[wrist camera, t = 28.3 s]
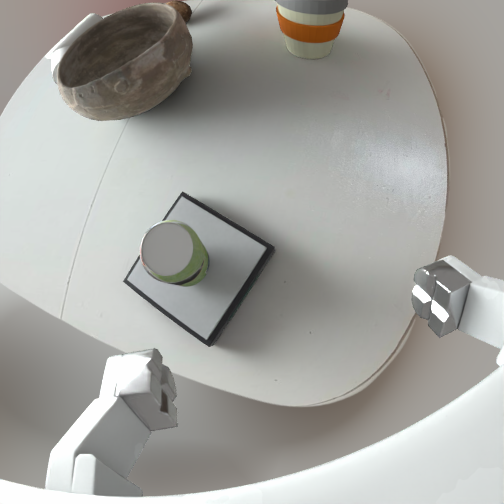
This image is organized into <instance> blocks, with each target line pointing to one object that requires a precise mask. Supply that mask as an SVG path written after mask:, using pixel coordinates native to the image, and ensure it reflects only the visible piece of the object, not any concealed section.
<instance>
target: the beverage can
mask: <svg viewBox="0 0 504 504" xmlns="http://www.w3.org/2000/svg"><path fill="white" fill-rule="evenodd" d="M140 259H141V263H142V265H143V267H144V269H145V270H146V272H147V273H148V274H149V275H150V276H151V277H153V278H154V279H156V280H158V281H160V282H164V283H168V284H173V285H178V286H184V287H188V286H193V285H195V284H197V283H199V282H200V281H201V280H202V279H203V278H204V277H205V276H206V274H207V272H208V270H209V265H210V260H209V255H208V252H207V250H206V248H205V247H204V245H203V243H202V242H201V240H200V239H199V237H198V235H197V234H196V232H195V231H194V230H193V229H192V228H191V227H190V226H189V225H187V224H186V223H183V222H181V221H177V220H165V221H161V222H159V223H157V224H155V225H154V226H152V227H151V228H150V229H149V230H148V231H147V232H146V234H145V235H144V237H143V239H142V242H141V245H140Z"/></svg>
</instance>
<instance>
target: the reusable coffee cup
mask: <svg viewBox="0 0 504 504" xmlns="http://www.w3.org/2000/svg"><path fill="white" fill-rule="evenodd" d="M275 1H276V2H277V7H276V12H277V16H278V21H279V25H280V29H281V31H282V32H283V33H284V38H285V43H286V47H287V49H288V50H289V52H291V53H292V54H294V55H295V56H298V57H301V58H305V59H320V58H323V57H325V56H327V55H328V54H329V53H330V52H331V49H332V46H333V43H334V40H335V38H336V37H337V36H338V34H339V32H340V29H341V26H342V23H343V20H344V9H345V8H346V7H347V5H348V0H275Z"/></svg>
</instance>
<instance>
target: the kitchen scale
mask: <svg viewBox="0 0 504 504" xmlns="http://www.w3.org/2000/svg"><path fill="white" fill-rule="evenodd" d="M165 220H177V221H181V222H183V223H186V224H187V225H189V226H190V227H191V228H192V229H193V230H194V231H195V232H196V234H197V235H198V237H199V239H200V240H201V242H202V243H203V245H204V247H205V248H206V250H207V252H208V255H209V260H210V265H209V270H208V272H207V274H206V276H205V277H204V278H203V279H202V280H201V281H200V282H199V283H197V284H195V285H193V286H188V287H184V286H178V285H173V284H168V283H164V282H160V281H158V280H156V279H154V278H153V277H151V276H150V275H149V274H148V273H147V272H146V270H145V269H144V267H143V265H142V263H141V259H140V255H139V257H138V258H137V260H136V261H135V263H134V265H133V266H132V268H131V269H130V271H129V273H128V274H127V276H126V278H125V279H124V281H123V282H124V283H126V284H127V285H128V286H129V287H131V288H132V289H133V290H134V291H135V292H137V293H138V294H139V295H140V296H142V297H143V298H144V299H145V300H147V301H148V302H149V303H150V304H152V305H153V306H154V307H156V308H157V309H158V310H159V311H161V312H162V313H163V314H165V315H166V316H167V317H169V318H170V319H171V320H173V321H174V322H175V323H177V324H178V325H179V326H181V327H182V328H183V329H185V330H186V331H187V332H189V333H190V334H192V335H193V336H194V337H196V338H197V339H199V340H200V341H201V342H203V343H204V344H206V345H207V346H208V347H210V346H213V345H214V344H215V342H216V341H217V339H218V338H219V336H220V335H221V333H222V332H223V330H224V329H225V327H226V326H227V324H228V323H229V321H230V320H231V318H232V317H233V315H234V314H235V312H236V311H237V309H238V308H239V306H240V305H241V303H242V302H243V300H244V298H245V297H246V295H247V294H248V292H249V291H250V289H251V288H252V286H253V285H254V283H255V282H256V280H257V278H258V277H259V275H260V274H261V272H262V270H263V269H264V267H265V266H266V264H267V263H268V261H269V260H270V258H271V256H272V255H273V253H274V252H275V247H274V246H272V245H271V244H269V243H267V242H266V241H264V240H262V239H261V238H259V237H257V236H256V235H254V234H253V233H251V232H249V231H248V230H246V229H244V228H243V227H241V226H239V225H238V224H236V223H234V222H233V221H231V220H229V219H228V218H226V217H224V216H223V215H221V214H219V213H218V212H216V211H214V210H213V209H211V208H209V207H208V206H206V205H204V204H203V203H201V202H199V201H198V200H196V199H194V198H192V197H191V196H189V195H187V194H186V193H184V192H182V193H181V194H180V196H179V197H178V198H177V200H176V201H175V203H174V204H173V206H172V207H171V208H170V210H169V211H168V213H167V214H166V216H165V217H164V219H163V220H162V221H165Z"/></svg>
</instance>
